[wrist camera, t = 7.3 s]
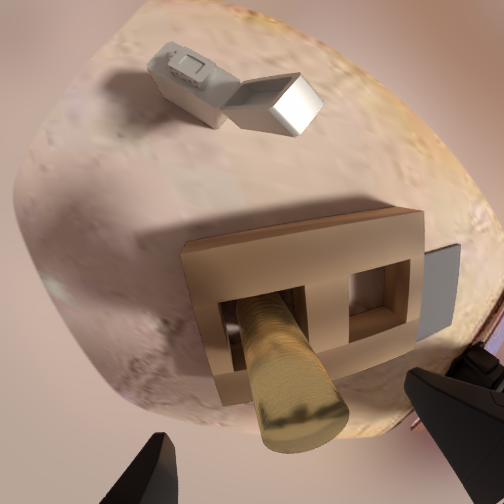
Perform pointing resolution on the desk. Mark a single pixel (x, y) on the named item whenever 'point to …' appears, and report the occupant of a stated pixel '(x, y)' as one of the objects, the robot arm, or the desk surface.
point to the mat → (438, 290)
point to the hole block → (312, 288)
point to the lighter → (233, 93)
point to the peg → (287, 378)
